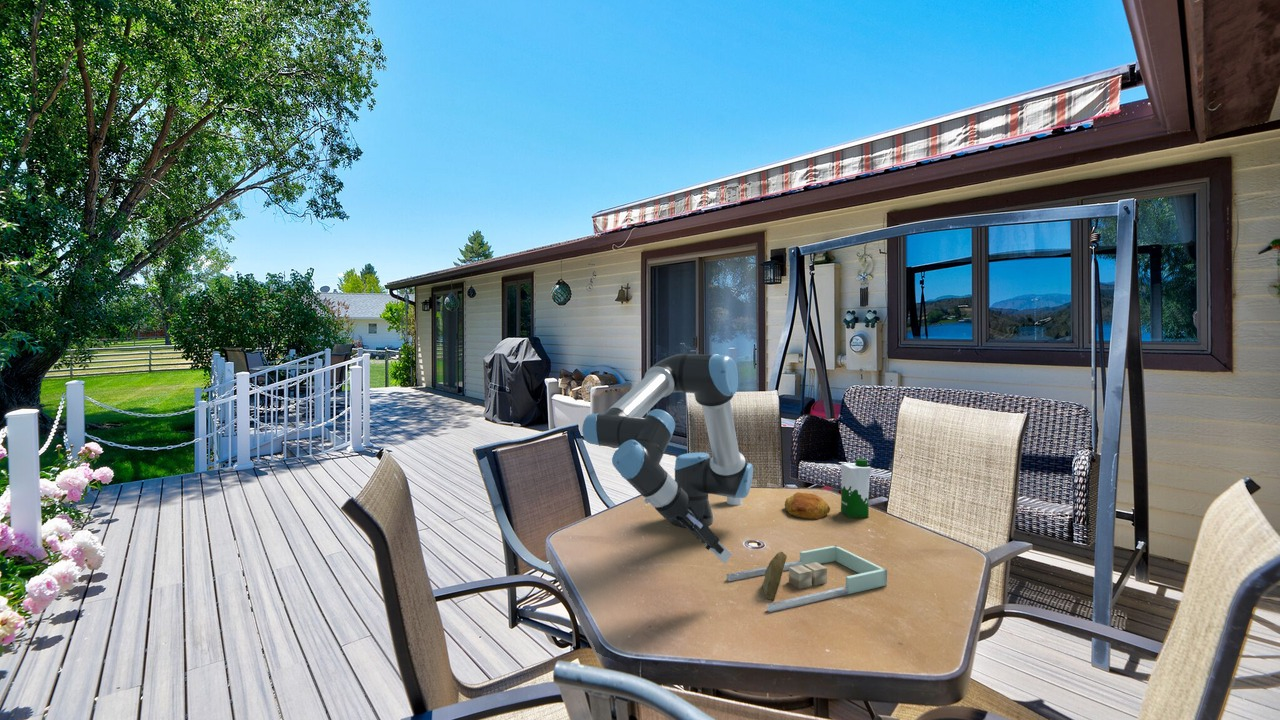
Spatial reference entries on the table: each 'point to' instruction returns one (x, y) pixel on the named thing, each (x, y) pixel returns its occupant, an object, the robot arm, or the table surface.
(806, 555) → the tray pen
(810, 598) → the slot rails
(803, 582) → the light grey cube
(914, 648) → the table surface
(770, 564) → the rock
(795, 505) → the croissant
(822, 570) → the beige cube
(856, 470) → the milk carton
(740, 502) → the drinking glass
